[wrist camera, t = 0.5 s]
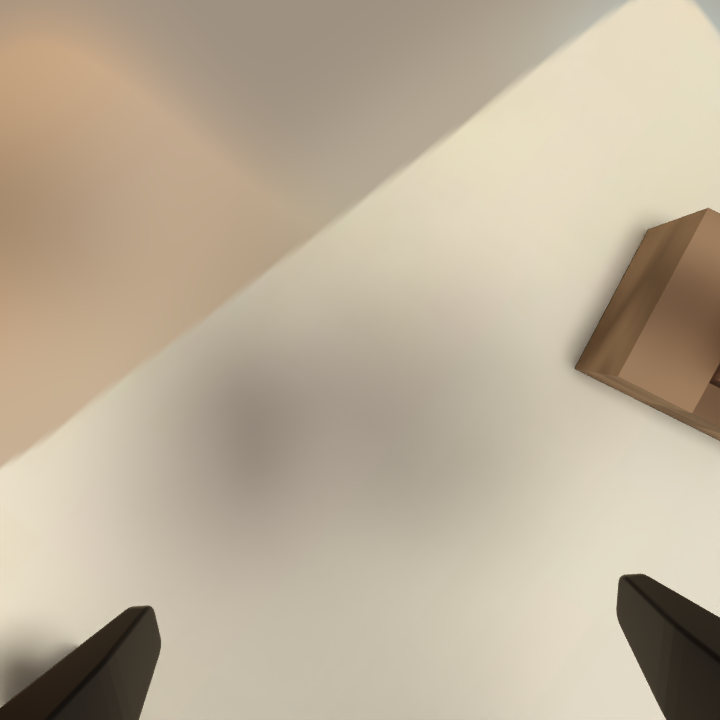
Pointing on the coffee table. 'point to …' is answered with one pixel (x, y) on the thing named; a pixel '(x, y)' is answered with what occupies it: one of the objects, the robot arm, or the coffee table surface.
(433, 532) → the coffee table surface
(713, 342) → the slot box
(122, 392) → the coffee table surface
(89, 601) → the coffee table surface
